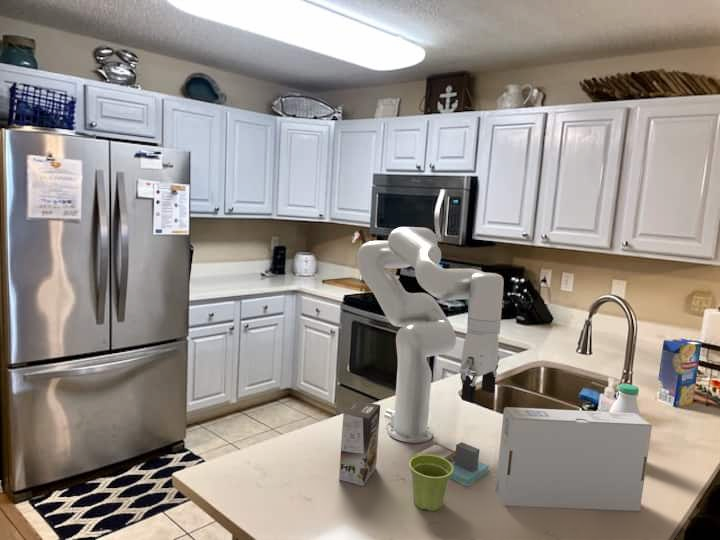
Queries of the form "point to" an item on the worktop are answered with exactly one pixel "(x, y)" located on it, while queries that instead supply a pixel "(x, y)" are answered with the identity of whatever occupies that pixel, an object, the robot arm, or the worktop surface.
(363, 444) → the coffee box
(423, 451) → the ticket board
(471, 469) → the block on base
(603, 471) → the packaging
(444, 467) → the plant pot
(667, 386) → the blue tall rectangular box
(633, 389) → the milk bottle
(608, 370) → the worktop surface
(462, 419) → the worktop surface
